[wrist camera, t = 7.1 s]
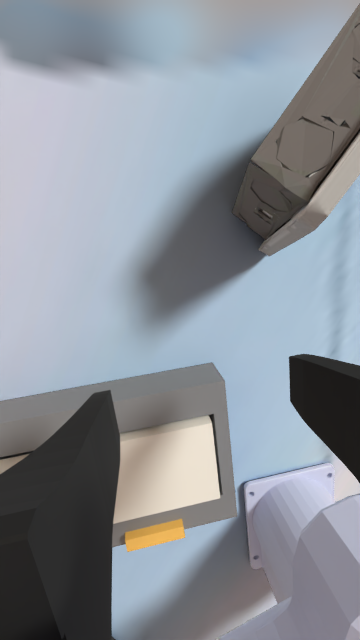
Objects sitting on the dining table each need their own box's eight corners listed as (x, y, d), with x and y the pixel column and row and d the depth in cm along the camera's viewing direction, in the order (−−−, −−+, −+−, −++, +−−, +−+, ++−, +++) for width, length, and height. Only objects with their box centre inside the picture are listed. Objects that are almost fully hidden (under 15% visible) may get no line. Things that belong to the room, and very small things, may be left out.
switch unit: (224, 484, 25) (240, 523, 21) (-76, 554, 22) (-115, 612, 18) (212, 362, 22) (227, 385, 18) (-137, 426, 19) (-196, 466, 16)
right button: (212, 476, 22) (220, 498, 20) (82, 506, 21) (77, 532, 19) (204, 406, 21) (212, 423, 19) (63, 434, 20) (56, 455, 18)
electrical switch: (265, 259, 20) (351, 256, 11) (205, 212, 20) (247, 168, 10) (352, 140, 19) (525, 32, 10) (293, 84, 19) (426, -86, 9)
